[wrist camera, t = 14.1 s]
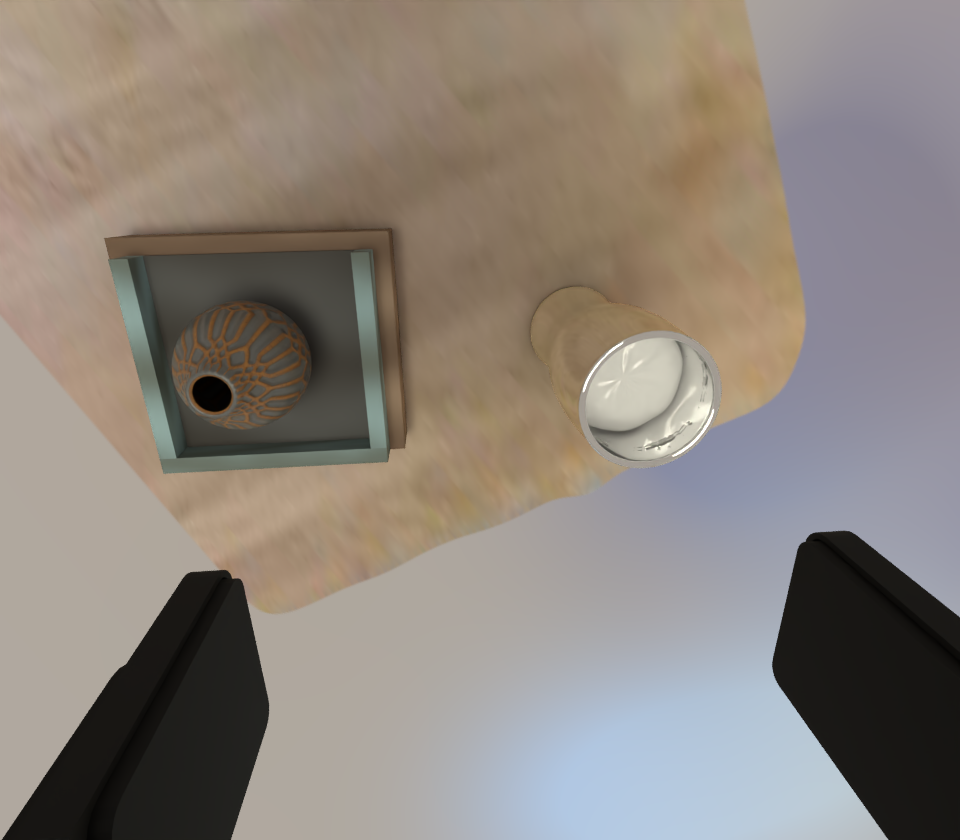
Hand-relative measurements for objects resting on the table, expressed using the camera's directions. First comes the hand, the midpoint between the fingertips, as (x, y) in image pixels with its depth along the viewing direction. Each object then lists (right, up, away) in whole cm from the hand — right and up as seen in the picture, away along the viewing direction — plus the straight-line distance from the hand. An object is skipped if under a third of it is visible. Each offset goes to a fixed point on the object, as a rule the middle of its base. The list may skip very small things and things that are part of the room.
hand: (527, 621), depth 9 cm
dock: (-14, +9, +28) cm, 33 cm away
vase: (-14, +8, +25) cm, 30 cm away
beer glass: (+6, +10, +30) cm, 32 cm away
